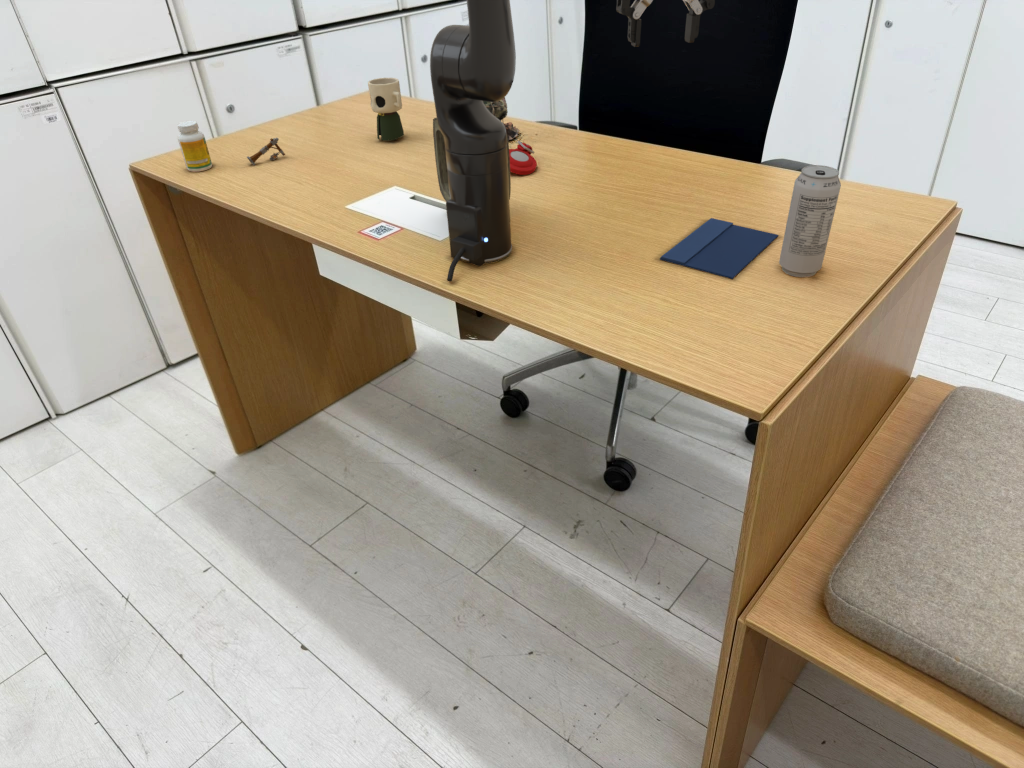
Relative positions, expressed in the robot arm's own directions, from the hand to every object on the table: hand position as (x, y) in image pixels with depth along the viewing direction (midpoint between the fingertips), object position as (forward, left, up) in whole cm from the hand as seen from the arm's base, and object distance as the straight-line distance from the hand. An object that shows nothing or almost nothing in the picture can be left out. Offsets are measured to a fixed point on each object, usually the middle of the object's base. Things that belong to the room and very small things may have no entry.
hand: (662, 43), depth 107 cm
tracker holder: (+10, +36, -28) cm, 47 cm away
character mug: (+10, +74, -28) cm, 80 cm away
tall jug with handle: (-17, +25, -28) cm, 41 cm away
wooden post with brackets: (-16, +87, -28) cm, 93 cm away
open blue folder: (-4, -15, -28) cm, 32 cm away
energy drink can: (-5, -28, -28) cm, 40 cm away
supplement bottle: (-27, +96, -28) cm, 104 cm away
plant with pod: (+24, +52, -28) cm, 64 cm away
